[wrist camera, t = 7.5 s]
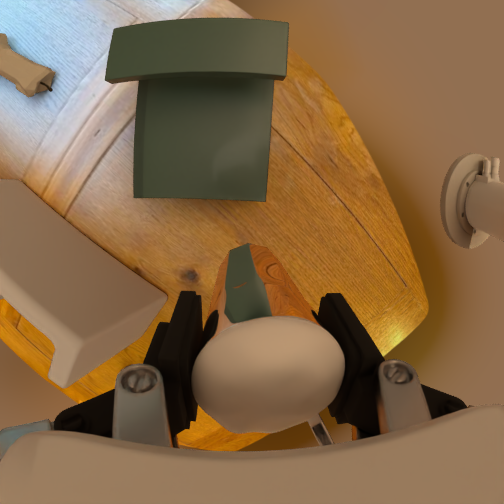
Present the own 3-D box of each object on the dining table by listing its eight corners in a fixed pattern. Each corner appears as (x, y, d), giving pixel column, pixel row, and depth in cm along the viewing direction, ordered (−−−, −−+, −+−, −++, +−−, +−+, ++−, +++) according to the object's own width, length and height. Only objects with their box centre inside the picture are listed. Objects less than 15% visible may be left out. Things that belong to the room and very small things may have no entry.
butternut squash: (8, 27, 20) (80, 62, 28) (-7, 66, 25) (59, 109, 32) (-26, 31, 13) (41, 65, 20) (-39, 74, 17) (22, 122, 24)
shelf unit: (160, 72, 30) (113, 28, 15) (267, 73, 31) (289, 22, 16) (154, 188, 35) (100, 214, 20) (259, 191, 36) (275, 220, 21)
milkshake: (254, 329, 16) (278, 486, 7) (189, 268, 15) (147, 431, 5) (315, 283, 16) (397, 426, 6) (255, 212, 14) (309, 338, 5)
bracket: (48, 224, 45) (-78, 240, 16) (66, 181, 43) (-73, 178, 14) (142, 337, 43) (2, 432, 14) (171, 295, 40) (-4, 392, 11)
